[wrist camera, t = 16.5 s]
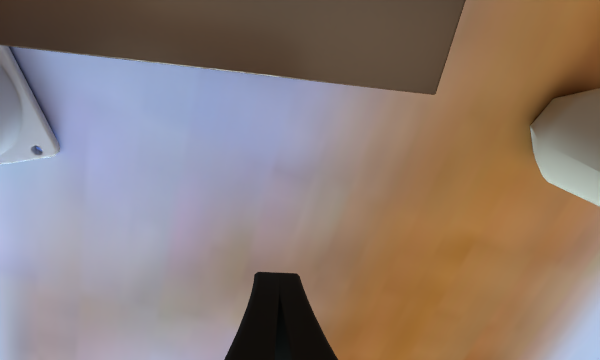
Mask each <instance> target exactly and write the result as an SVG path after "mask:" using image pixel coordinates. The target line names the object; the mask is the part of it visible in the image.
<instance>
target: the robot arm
mask: <svg viewBox="0 0 600 360" xmlns="http://www.w3.org/2000/svg"><path fill="white" fill-rule="evenodd" d="M36 146H38V147H40V148H41V149H42V151H39V150H37V148H36ZM59 151H60V146H59V143H58V142H57V140H56V138H55V136H54V134H53V132H52V130H51V128H50V126H49V124H48V122H47V120H46V118H45V116H44V114H43V112H42V111H41V109H40V107H39V105H38V103H37V101H36V99H35V97H34V95H33V93H32V91H31V89H30V87H29V85H28V83H27V82H26V80H25V78H24V76H23V74H22V72H21V70H20V68H19V66H18V64H17V62H16V60H15V58H14V56H13V54H12V53H11V51H10V49H9V47H8V46H2V45H0V165H1V164H8V163H15V162H21V161H28V160H35V159H41V158H48V157H53V156H55V155H56V154H57V153H58V152H59ZM224 360H338V359H337V357H336V355H335V354H334V352H333V350H332V348H331V347H330V345H329V343H328V341H327V339H326V337H325V335H324V333H323V331H322V329H321V327H320V325H319V323H318V321H317V319H316V317H315V315H314V313H313V311H312V308H311V306H310V304H309V301H308V299H307V296H306V294H305V291H304V289H303V286H302V283H301V280H300V276H299V275H298V274H294V273H271V272H258V273H256V274H255V275H254V284H253V288H252V292H251V296H250V299H249V302H248V306H247V309H246V311H245V314H244V316H243V319H242V322H241V324H240V327H239V329H238V332H237V334H236V336H235V338H234V340H233V342H232V345H231V347H230V349H229V351H228V353H227V355H226V357H225V359H224Z"/></svg>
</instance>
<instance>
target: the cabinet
mask: <svg viewBox="0 0 600 360" xmlns="http://www.w3.org/2000/svg"><path fill="white" fill-rule="evenodd" d="M464 3H465V0H0V45H2V46H11V47H19V48H28V49H37V50H46V51H54V52H63V53H72V54H81V55H89V56H98V57H107V58H116V59H125V60H133V61H142V62H151V63H160V64H168V65H177V66H186V67H195V68H203V69H212V70H221V71H230V72H238V73H247V74H256V75H265V76H273V77H282V78H291V79H300V80H309V81H317V82H326V83H335V84H344V85H352V86H361V87H370V88H379V89H387V90H396V91H405V92H414V93H422V94H431V95H434V94H436V91H437V88H438V84H439V81H440V78H441V75H442V72H443V69H444V66H445V63H446V60H447V56H448V53H449V50H450V47H451V44H452V41H453V38H454V35H455V32H456V28H457V25H458V22H459V19H460V16H461V13H462V10H463V7H464Z"/></svg>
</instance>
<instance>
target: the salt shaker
mask: <svg viewBox="0 0 600 360" xmlns="http://www.w3.org/2000/svg"><path fill="white" fill-rule="evenodd" d="M530 129H531V137H532V145H533V152H534V155H535V159H536V162H537V164H538V167H539V169H540V171H541V174H542V176H543V177H544V178H545V179H546V180H547V182H549V183H551V184H553V185H555V186H557V187H559V188H561V189H563V190H566V191H568V192H570V193H572V194H574V195H577V196H579V197H581V198H583V199H585V200H587V201H589V202H591V203H594V204H596V205H598V206H600V88H598V89H593V90H589V91H585V92H580V93H576V94H572V95H567V96H562V97H558V98H554V99H553V100H552V101H551V102H550V103H549V104H548V106H547V107H546V108H545V109H544V110H543V111H542V113H541V114H540V115H539V116H538V117H537V119H536V120H535V121H534V122H533V123H532V124H531V126H530Z"/></svg>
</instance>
